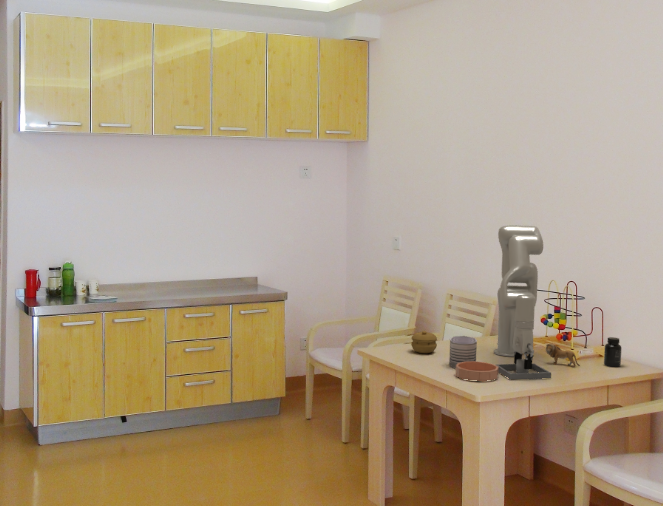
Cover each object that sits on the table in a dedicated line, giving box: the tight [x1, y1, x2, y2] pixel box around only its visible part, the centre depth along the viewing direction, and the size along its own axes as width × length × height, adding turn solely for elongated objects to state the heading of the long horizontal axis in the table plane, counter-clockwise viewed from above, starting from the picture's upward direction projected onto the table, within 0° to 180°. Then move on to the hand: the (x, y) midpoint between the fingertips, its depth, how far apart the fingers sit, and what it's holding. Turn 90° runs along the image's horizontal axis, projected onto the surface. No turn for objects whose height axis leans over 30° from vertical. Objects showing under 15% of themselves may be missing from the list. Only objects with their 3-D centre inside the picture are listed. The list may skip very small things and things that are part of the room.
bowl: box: [455, 360, 500, 381], centre depth 303 cm, size 17×17×4 cm
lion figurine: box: [545, 343, 581, 368], centre depth 324 cm, size 15×5×9 cm, turn 67°
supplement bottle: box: [603, 336, 623, 368], centre depth 324 cm, size 7×7×12 cm
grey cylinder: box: [515, 358, 530, 373], centre depth 307 cm, size 5×5×6 cm
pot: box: [410, 330, 438, 354], centre depth 344 cm, size 12×12×10 cm
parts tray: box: [494, 362, 552, 380], centre depth 307 cm, size 16×18×2 cm
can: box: [448, 335, 478, 369], centre depth 319 cm, size 11×11×12 cm
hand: (522, 366), depth 307 cm, fingers open, 9 cm apart
